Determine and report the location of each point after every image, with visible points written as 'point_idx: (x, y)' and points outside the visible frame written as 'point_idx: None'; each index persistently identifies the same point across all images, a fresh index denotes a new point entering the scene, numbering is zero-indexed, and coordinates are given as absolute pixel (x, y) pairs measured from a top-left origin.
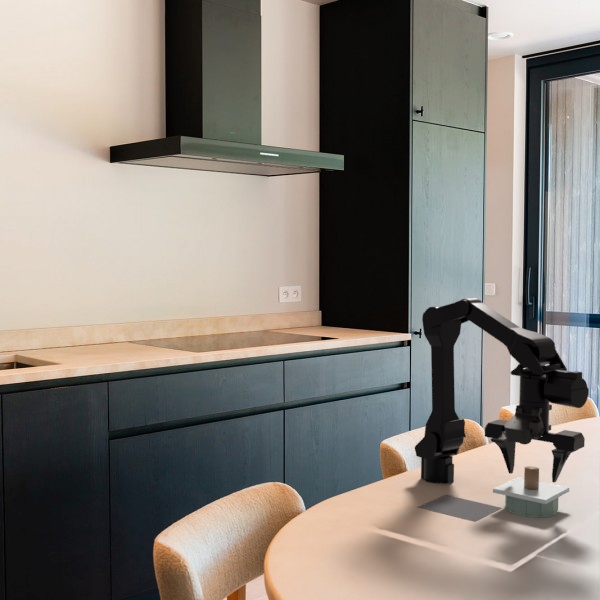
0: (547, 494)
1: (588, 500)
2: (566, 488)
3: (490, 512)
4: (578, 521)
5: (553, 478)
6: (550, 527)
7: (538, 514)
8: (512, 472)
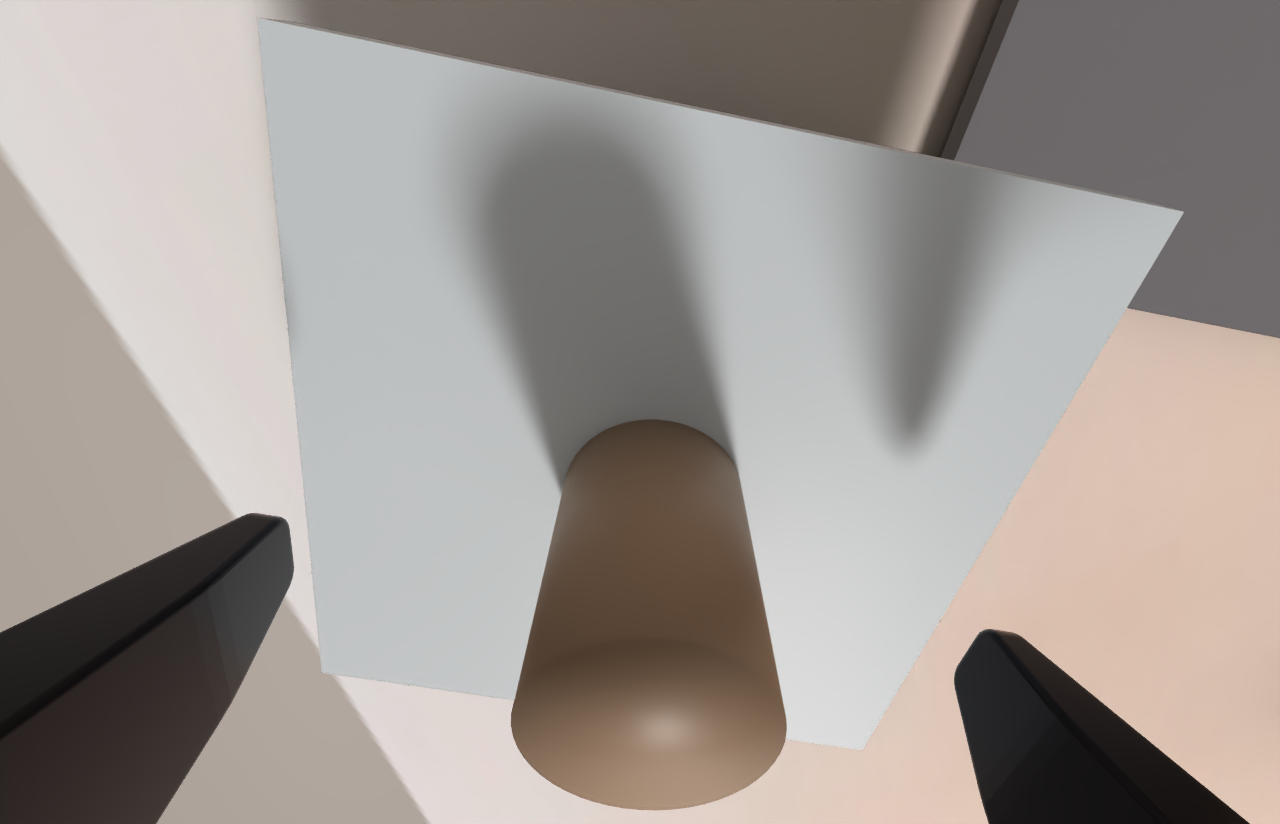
0: (377, 335)
1: (411, 742)
2: (326, 637)
3: (1034, 23)
4: (251, 347)
5: (214, 544)
6: (353, 23)
7: None
8: (961, 672)
